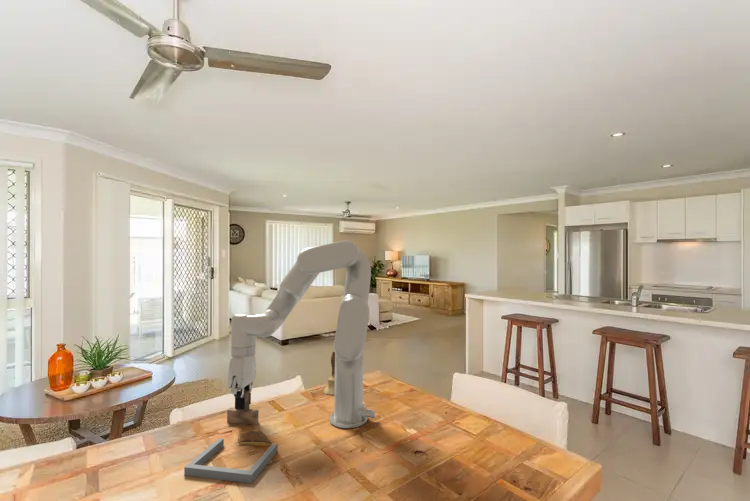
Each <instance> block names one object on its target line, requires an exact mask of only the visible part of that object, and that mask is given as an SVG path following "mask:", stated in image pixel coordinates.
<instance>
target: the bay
mask: <svg viewBox="0 0 750 501" xmlns="http://www.w3.org/2000/svg"><path fill="white" fill-rule="evenodd" d="M224 441H225V440H224V438H218V439H216V440H215V441H214V442H213V443H212V444H210V445H209V446H208V447H207V448H206V449H205V450H203V451H202V452H201V453H200V454H198V455H197V456H196V457H195V458H194V459H192V460H191V461H190V462H189V463H188V464H186V465H185V466H184V467H183V468H184V472H183V473H184V474H183V475H184V476H188V477H196V478H204V479H212V480H220V481H230V482H237V483H245V484H252V483H253V482H254V481H255V479H257V477H258V476H259V474H261V472H262V471H263V470H264V468H266V466H267V465H268V464H269V462H271V460H272V459H273V458H274V456H276V455H277V453H278V447H279V446H278V443H272V445H271V446H268V448H267V450H265V451H264V453H263V454H262V455H261V456H260V457H259V458H258V459H257V461H256V462H255V463H253V465H252V466H251V468H250V469H249V470H247V469H246V470H244V469H238V468H229V467H221V466H220V467H219V466H210V465H204V464H205V463H206V462H207V461H209V459H210V458H212V457H213V456H214V455H215V454H216V453H217V452H218V451H220V450H221V449H222V448H223V447H224V443H225V442H224Z"/></svg>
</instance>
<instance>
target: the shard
mask: <svg viewBox="0 0 750 501" xmlns="http://www.w3.org/2000/svg"><path fill="white" fill-rule="evenodd" d="M236 436H237V438H238V440H239V441H238V444H237V445H239V446H242V445H243V446H248V445H249V446H260V447H261V446H262V447H270V446H271V445H272V444H274V443H273V441H271V439H270V438H268V436H267V435H266V434H265V433H264V432H263V431H262V430H260V429H249V430H247V431H244V432H243V431H242V432H240V433H237V435H236Z"/></svg>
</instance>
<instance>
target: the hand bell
mask: <svg viewBox="0 0 750 501" xmlns="http://www.w3.org/2000/svg"><path fill="white" fill-rule="evenodd" d="M330 365H331V376H329V377H328V379H327V384H326V387H325V388H324V389H323V394H325V395H327V396H335V351H332V353H331V356H330Z"/></svg>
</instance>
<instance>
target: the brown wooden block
mask: <svg viewBox="0 0 750 501" xmlns="http://www.w3.org/2000/svg"><path fill="white" fill-rule="evenodd" d="M239 391H240V392H241V390H239ZM244 397H245V409H244V410H240V409H235V407H229V408H228V409H227V412H226V419H227V420H226V422H227V423H231V424H242V425H253V426H254V425H255V426H256V425H257V424H258V423H259V409H254V408H253V409H252V408H251V409H250V405H249V402H250V390H244Z"/></svg>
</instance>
